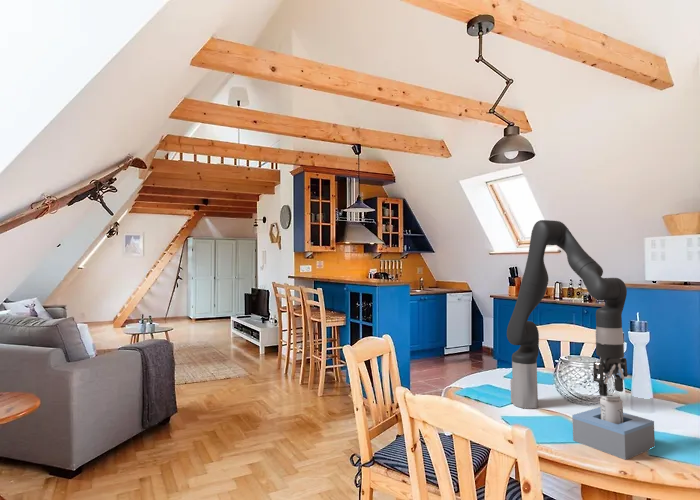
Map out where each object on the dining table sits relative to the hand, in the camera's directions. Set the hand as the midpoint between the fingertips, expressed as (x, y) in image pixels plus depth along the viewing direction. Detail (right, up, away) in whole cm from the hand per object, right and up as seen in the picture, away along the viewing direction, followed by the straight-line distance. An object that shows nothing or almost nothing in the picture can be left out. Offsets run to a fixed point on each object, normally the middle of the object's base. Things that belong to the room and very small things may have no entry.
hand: (611, 393), depth 136 cm
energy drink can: (0, -16, 0) cm, 16 cm away
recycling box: (0, -16, -1) cm, 16 cm away
